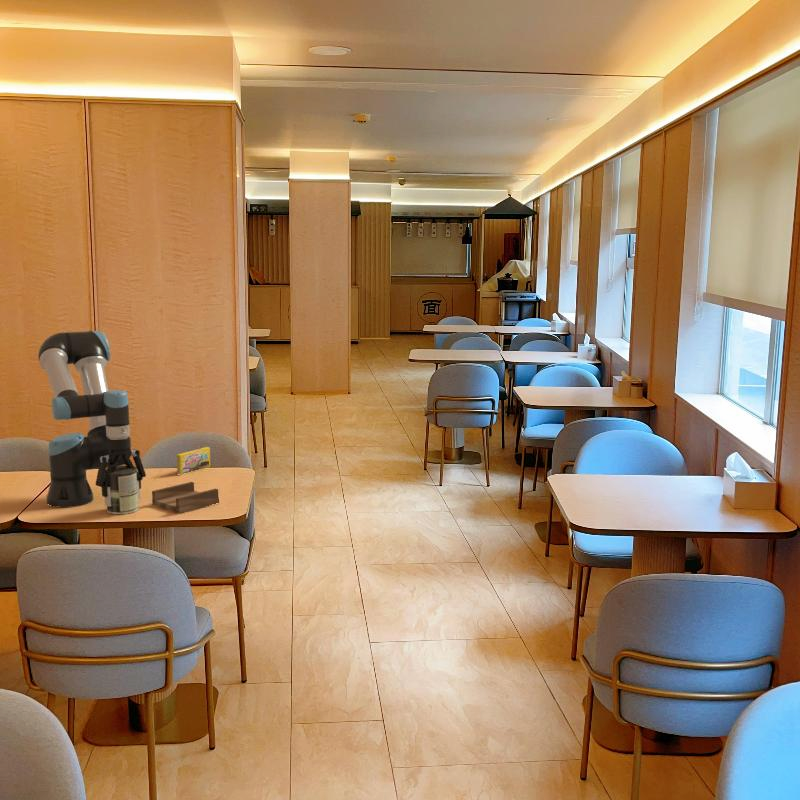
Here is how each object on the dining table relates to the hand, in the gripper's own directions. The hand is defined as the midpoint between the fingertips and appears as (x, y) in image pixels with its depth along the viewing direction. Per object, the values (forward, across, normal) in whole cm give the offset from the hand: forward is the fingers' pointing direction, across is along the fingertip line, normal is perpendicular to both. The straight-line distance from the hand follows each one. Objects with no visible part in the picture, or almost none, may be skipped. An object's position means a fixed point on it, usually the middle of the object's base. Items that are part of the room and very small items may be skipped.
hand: (122, 502), depth 302 cm
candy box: (+3, +48, +27) cm, 55 cm away
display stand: (+3, +18, -10) cm, 21 cm away
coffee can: (+3, 0, 0) cm, 3 cm away
